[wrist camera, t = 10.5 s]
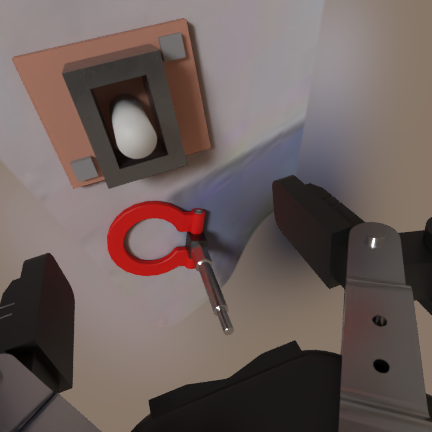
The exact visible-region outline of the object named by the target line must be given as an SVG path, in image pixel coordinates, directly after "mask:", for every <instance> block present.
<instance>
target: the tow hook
mask: <svg viewBox="0 0 432 432" xmlns="http://www.w3.org/2000/svg"><path fill="white" fill-rule="evenodd" d="M149 218H159V219H164V220H166V221H168V222H170V223H172V224H173V225H174V226H175V227H176V229H177V230H178V231H180V232H187V238H186V245H185V247H176V248H174V250H173V251H172V252H171V253H169V254H168V255H167V256H165V257H163V258H161V259H157V260H152V261H146V260H140V259H137V258H135V257H133V256H132V255H130V254H129V253H128V251H127V250H126V249H125V246H124V238H125V235H126V233H127V232H128V230H129V229H130V228H131V227H132V226H133V225H134V224H136V223H138V222H140V221H141V220H145V219H149ZM204 218H205V211H204V210H202V209H199V208H195V209H192V211H191V212H183V211H182V210H181V209H180V208H178V207H176V206H174V205H172V204H170V203H165V202H160V201H146V202H143V203H139V204H135V205H133V206H131V207H129V208H127V209H125V210H124V211H123V212H122V213H120V214H119V215H118V216H117V217H116V218H115V220H114V221H113V223H112V224H111V226H110V228H109V232H108V236H107V244H108V251H109V254H110V256H111V259H112V260H113V261H114V262H115V263H116V264H117V266H119V267H120V268H122V269H123V270H125V271H127V272H129V273H132V274H135V275H142V276H151V275H159V274H162V273H166V272H168V271H170V270H172V269H174V268H176V267H177V266H185V267H186V268H188V269H194V268H195V269H196V270H197V271H199V272H200V275H201V278H202V281H203V283H204V286H205V289H206V292H207V295H208V298H209V300H210V303H211V306H212V309H213V311H214V314H215V315H216V316H218V318H219V320H220V323H221V326H222V329H223V331H224V334H225V335H230V334H232V333H233V332H234V329H233V326H232V324H231V321H230V319H229V316H228V314H227V312H228V306H227V304H226V301H225V299H224V297H223V294H222V292H221V289H220V287H219V284H218V282H217V279H216V277H215V274H214V272H213V269H212V260H211V258H210V255H209V253H208V251H207V248H206V246H207V240H206V237H205V235H204V233H203V225H204Z"/></svg>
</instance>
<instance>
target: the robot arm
mask: <svg viewBox="0 0 432 432" xmlns="http://www.w3.org/2000/svg"><path fill="white" fill-rule="evenodd" d="M272 190H273V202H274V214H275V220H276V223H277V225H278V227H279V229H280V231H282V233H283V234H284V235H285V237H286V238H287V239H288V240H289V241H290V242H291V244H292V245H293V246H294V247H295V249H296V250H297V251H298V252H299V253H300V255H301V256H302V257H303V258H304V259H305V261H306V262H307V263H308V264H309V265H310V267H311V268H312V269H313V270H314V271H315V273H316V274H317V275H318V276H319V277H320V279H321V280H322V281H323V282H324V283H325V285H326V286H327V287H328V288H329V289H331V288H333V287H336V286H338V285H341V286H342V287H343V288H344V289H345V293H344V309H343V324H342V325H343V326H342V341H341V355H339V354H336V353H332V352H328V351H320V350H304V351H301V349H300V347H299V346H298V344H297V342H296V341H292V342H290V343H287V344H285V345H283V346H280V347H277V348H275V349H273V350H270V351H268V352H265V353H263V354H261V355H259V356H258V357H257V358H255V359H254V360H253V361H251V362H250V363H249V364H247V365H246V366H245V367H243V368H242V369H240V370H239V371H238V372H237V373H235V374H234V375H232V376H231V377H229V378H227V379H222V380H216V381H208V382H202V383H195V384H188V385H185V386H182V387H180V388H177V389H175V390H172V391H170V392H167V393H165V394H162V395H160V396H158V397H155V398H153V399H151V400H149V406H150V414H149V415H148V416H146V417H145V418H144V419H143V420H142V421H141V422H140V423H139V424H137V425H136V427H135V428H134V429H133V430H132V431H131V432H432V396H431V395H428V394H426V392H425V385H424V377H423V369H422V361H421V353H420V346H419V339H418V330H417V323H416V315H415V307H414V300H417V301H418V302H419V303H420V304H421V305H422V306H423V307H424V308H425V309H426V310H427V311H428V312H429V313H430V314H431V315H432V217H431V218H430V219H428V221H427V223H426V226H425V230H423V231H413V232H405V233H397V231H396V230H395V229H393V228H392V227H390V226H388V225H385V224H382V223H376V222H364V221H363V220H362V219H360V218H359V217H358V216H357V215H356V214H354V213H353V212H352V211H351V210H349V209H348V208H347V207H346V206H344V205H343V204H342V203H339V201H338V200H337V199H336V198H335V197H332V195H331V194H330V193H328V192H327V191H326V190H325V189H323V188H322V187H319V186H316V185H313V184H311V183H309V184H306V185H305V184H304V183H303V182H301V181H300V180H299V179H298V178H297V177H296V176H294V175H291V176H288V177H285V178H281V179H278V180H275V181H273V184H272ZM74 310H75V300H74V294H73V291H72V288H71V286H70V285H69V282H68V280H67V279H66V277H65V275H64V274H63V272H62V270H61V269H60V267H59V265H58V264H57V262H56V260H55V259H54V257H53V256H52V255H51V254H50V253H47V254H44V255H41V256H37V257H34V258H31V259H28V260H25V261H24V264H23V268H22V272H21V277H20V278H19V279H16V280H13V281H12V282H11V283H10V285H9V286H8V288H7V289H6V290H5V292H4V293H3V296H2V299H1V303H0V432H102V431H100V430H99V429H98V428H97V427H96V426H95V425H94V424H93V423H91V422H90V421H89V420H88V419H87V418H86V417H85V416H84V415H82V414H81V413H80V412H79V411H78V410H77V409H76V408H74V407H73V406H72V405H71V404H70V403H69V402H68V401H67V400H65V399H64V398H63V397H62V396H61V395H60V394H59V393H60V392H63V391H66V390H68V389H71V388H72V383H73V382H72V381H73V347H74V346H73V344H74Z"/></svg>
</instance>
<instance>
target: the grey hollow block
mask: <svg viewBox="0 0 432 432" xmlns="http://www.w3.org/2000/svg"><path fill="white" fill-rule="evenodd" d="M62 75H63V78H64V80H65V83H66V85H67V88H68V90H69V92H70V95H71V97H72V100H73V102H74V105H75V107H76V110H77V112H78V115H79V117H80V119H81V122H82V124H83V127H84V129H85V132H86V134H87V137H88V139H89V141H90V144H91V146H92V149H93V151H94V154H95V156H96V159H97V161H98V163H99V166H100V168H101V171H102V173H103V176H104V178H105V181H106V183H107V185H108V188H113V187H116V186H119V185H123V184H126V183H129V182H133V181H136V180H139V179H143V178H146V177H149V176H152V175H156V174H159V173H162V172H166V171H169V170H172V169H176V168H179V167H182V166H186V165H188V164H187V160H186V156H185V152H184V148H183V144H182V140H181V136H180V131H179V127H178V123H177V119H176V115H175V111H174V107H173V103H172V99H171V94H170V90H169V86H168V82H167V78H166V74H165V70H164V66H163V62H162V58H161V53H160V50H159V49H158V48H156V47H155V46H153V45H152V44H150V43H149V44H145V45H141V46H137V47H132V48H128V49H124V50H120V51H116V52H111V53H107V54H103V55H99V56H95V57H90V58H86V59H82V60H78V61H74V62H69V63H65V65H64V68H63V71H62ZM140 76H142V79H143V83H144V87H145V90H146V94H147V97H148V101H149V104H150V108H151V111H152V115H153V118H154V122H155V125H156V129H157V133H158V136H159V137H158V138H157V143H156V147H155V149H154V150H153V152H152V153H151V154H150V155H148V156H146V157H144V158H140V159H133V158H130V157H127V156H125V155H124V154H123V153H122V152H121V151H120V150H119V149H115V147H114V144H113V141H112V138H111V136H110V133H109V130H108V127H107V125H106V122H105V119H104V117H103V114H102V111H101V108H100V106H99V103H98V100H97V97H96V95H95V92H94V89H93V88H96V87H100V86H104V85H108V84H112V83H116V82H120V81H124V80H128V79H132V78H136V77H140Z"/></svg>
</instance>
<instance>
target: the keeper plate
mask: <svg viewBox="0 0 432 432" xmlns="http://www.w3.org/2000/svg"><path fill="white" fill-rule="evenodd" d="M149 43H150V44H152V45H153V46H155V47H156V48H158V49H159V50H160V53H161V58H162V62H163V66H164V70H165V74H166V78H167V82H168V86H169V90H170V94H171V99H172V103H173V107H174V111H175V115H176V119H177V123H178V127H179V131H180V136H181V140H182V144H183V148H184V152H185V156H186V155H189V154H193V153H196V152H200V151H203V150H206V149H210V148H211V146H210V140H209V135H208V130H207V125H206V120H205V114H204V109H203V104H202V99H201V93H200V88H199V83H198V78H197V73H196V67H195V62H194V57H193V52H192V46H191V41H190V36H189V31H188V26H187V20H186V19H184V18H182V19H178V20H174V21H169V22H165V23H160V24H156V25H152V26H147V27H143V28H138V29H134V30H130V31H125V32H121V33H116V34H112V35H108V36H103V37H99V38H94V39H90V40H86V41H81V42H77V43H72V44H68V45H64V46H59V47H55V48H50V49H46V50H42V51H37V52H33V53H28V54H24V55H20V56H15V57H13V58H12V61H13V63H14V65H15V67H16V69H17V71H18V73H19V75H20V77H21V80H22V82H23V84H24V86H25V88H26V90H27V92H28V94H29V96H30V98H31V101H32V103H33V105H34V107H35V109H36V111H37V113H38V115H39V117H40V120H41V122H42V124H43V126H44V128H45V130H46V132H47V134H48V136H49V138H50V141H51V143H52V145H53V147H54V149H55V151H56V153H57V155H58V157H59V160H60V162H61V164H62V166H63V168H64V170H65V172H66V174H67V176H68V178H69V181H70V183H71V185H72V187H73V189H74V188H78V187H81V186H85V185H88V184H91V183H95V182H98V181H101V180H105V178H104V176H103V173H102V171H101V168H100V166H99V163H98V161H97V159H96V156H95V154H94V151H93V149H92V146H91V144H90V141H89V139H88V137H87V134H86V132H85V129H84V127H83V124H82V122H81V119H80V117H79V115H78V112H77V110H76V107H75V105H74V102H73V100H72V97H71V95H70V92H69V90H68V88H67V85H66V83H65V80H64V78H63V75H62V71H63V68H64V65H65V63H69V62H74V61H78V60H82V59H86V58H90V57H95V56H99V55H103V54H107V53H111V52H116V51H120V50H124V49H128V48H132V47H137V46H141V45H145V44H149ZM93 89H94V92H95V95H96V97H97V100H98V103H99V106H100V108H101V111H102V114H103V117H104V119H105V122H106V125H107V127H108V130H109V133H110V136H111V138H112V141H113V144H114V147H115V149H119V150H120V151H121V152H122V153H123V154H124V155H125V156H127V157H130V158H133V159H140V158H144V157H146V156H148V155H150V154H151V153H152V152H153V150H154V149H155V147H156V143H157V138H158V137H159V136H158V133H157V129H156V125H155V122H154V118H153V115H152V111H151V108H150V104H149V101H148V97H147V94H146V90H145V87H144V83H143V79H142V76H140V77H136V78H132V79H128V80H124V81H120V82H116V83H112V84H108V85H104V86H100V87H96V88H93Z"/></svg>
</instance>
